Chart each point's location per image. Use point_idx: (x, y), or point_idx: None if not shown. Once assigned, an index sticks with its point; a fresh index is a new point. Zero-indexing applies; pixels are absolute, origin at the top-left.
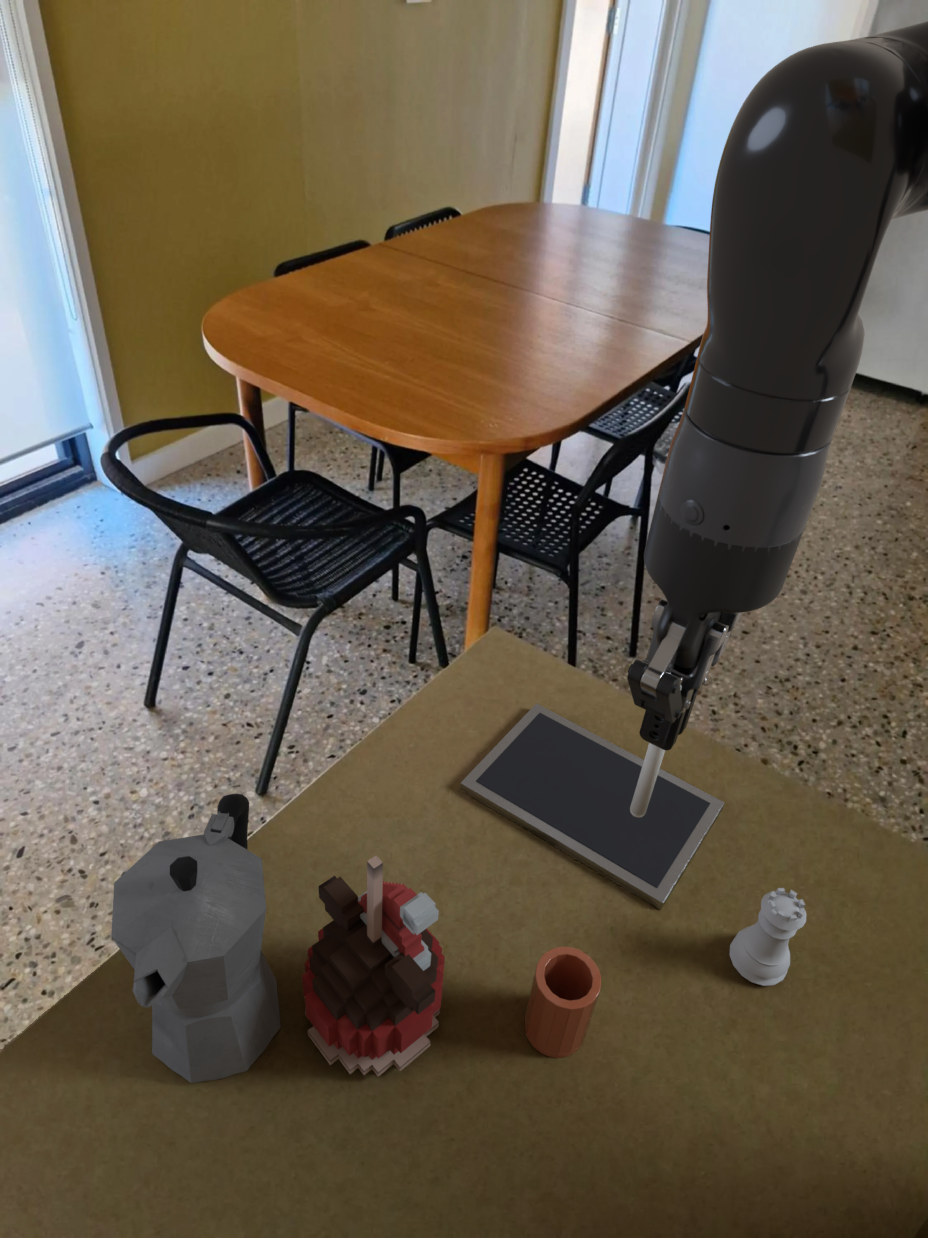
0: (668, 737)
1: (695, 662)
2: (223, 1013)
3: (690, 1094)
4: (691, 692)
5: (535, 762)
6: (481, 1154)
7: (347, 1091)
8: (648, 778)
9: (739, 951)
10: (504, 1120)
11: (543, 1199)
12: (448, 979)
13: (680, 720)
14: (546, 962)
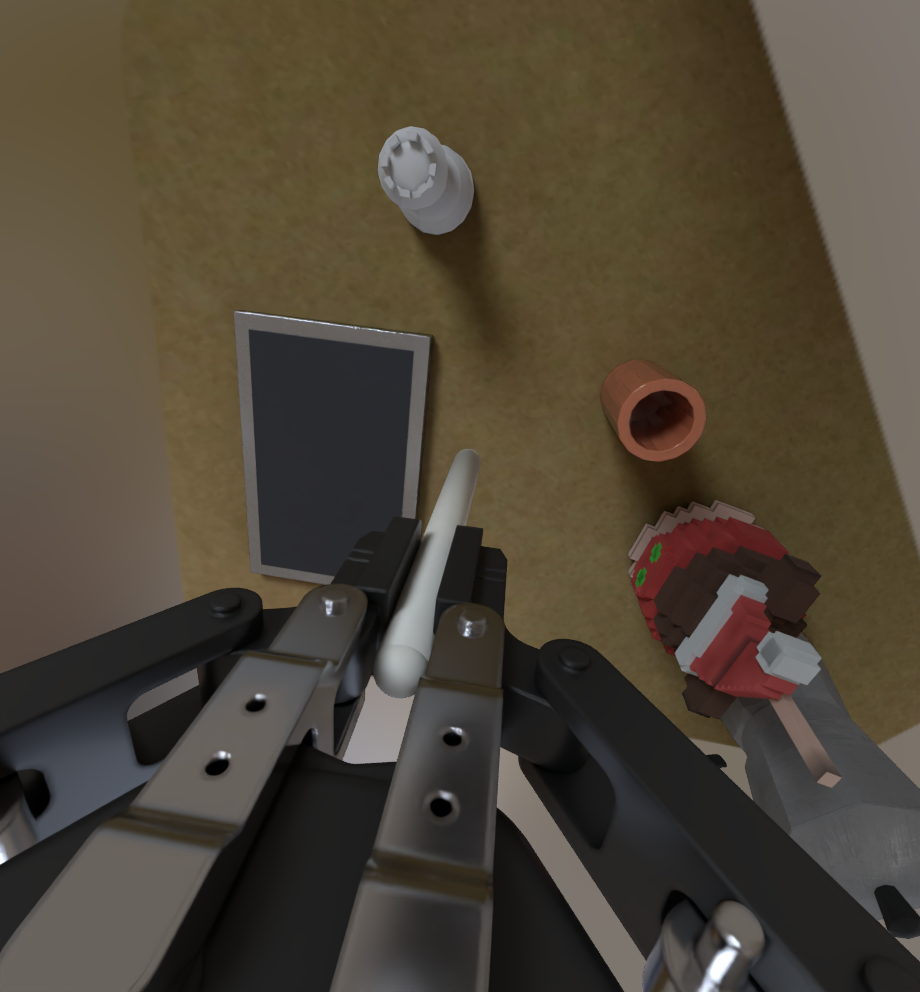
0: (479, 556)
1: (500, 842)
2: (832, 701)
3: (648, 219)
4: (456, 651)
5: (332, 542)
6: (796, 408)
7: None
8: (470, 497)
9: (452, 219)
10: (754, 401)
11: (821, 333)
12: (630, 511)
13: (472, 581)
14: (653, 452)
